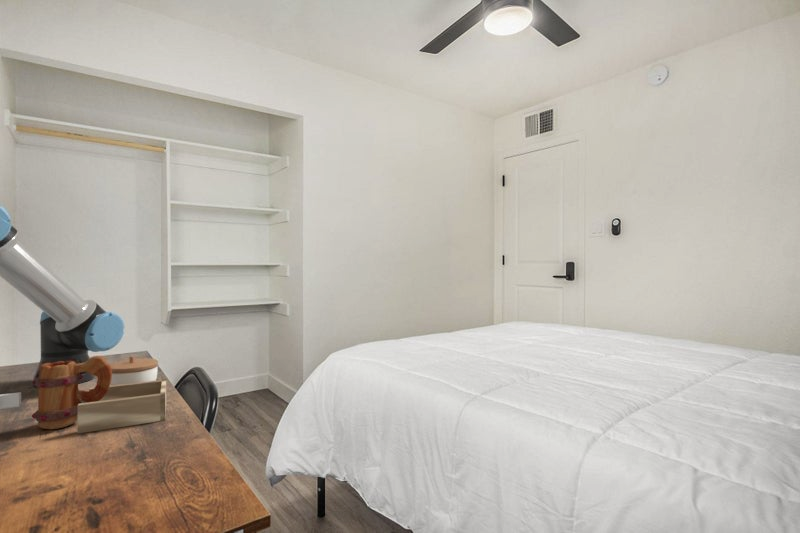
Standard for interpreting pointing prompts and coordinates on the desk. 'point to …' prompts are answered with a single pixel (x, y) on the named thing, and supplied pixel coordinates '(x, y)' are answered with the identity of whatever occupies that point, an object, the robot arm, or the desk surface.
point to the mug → (67, 390)
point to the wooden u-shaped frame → (124, 406)
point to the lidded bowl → (133, 371)
